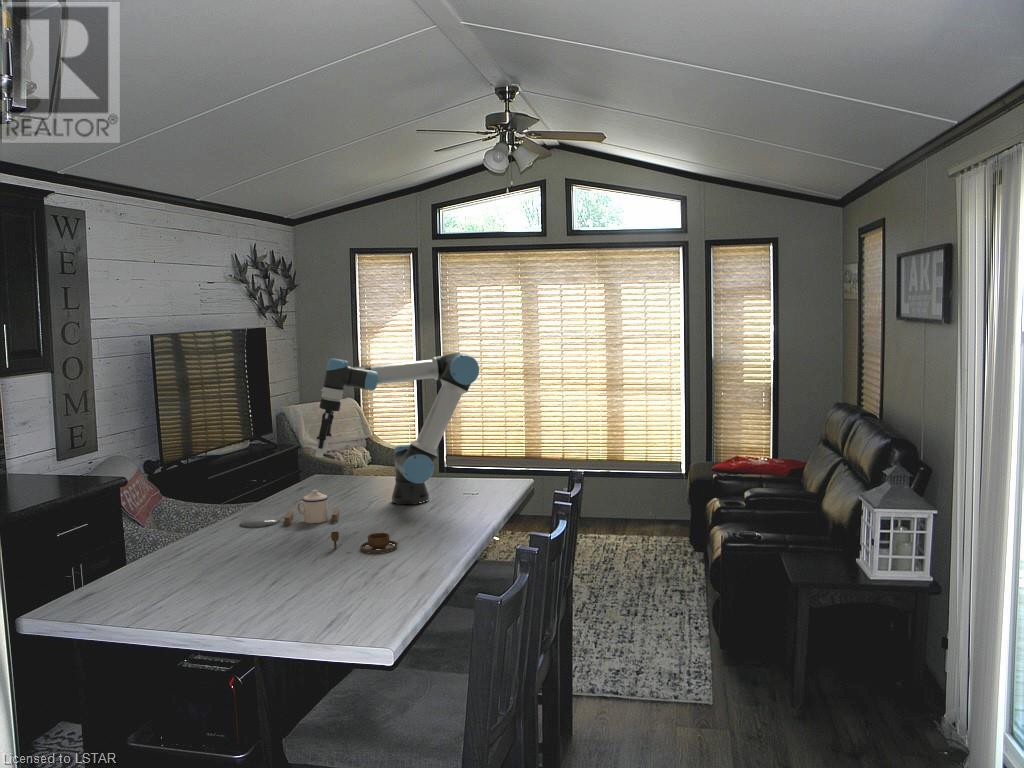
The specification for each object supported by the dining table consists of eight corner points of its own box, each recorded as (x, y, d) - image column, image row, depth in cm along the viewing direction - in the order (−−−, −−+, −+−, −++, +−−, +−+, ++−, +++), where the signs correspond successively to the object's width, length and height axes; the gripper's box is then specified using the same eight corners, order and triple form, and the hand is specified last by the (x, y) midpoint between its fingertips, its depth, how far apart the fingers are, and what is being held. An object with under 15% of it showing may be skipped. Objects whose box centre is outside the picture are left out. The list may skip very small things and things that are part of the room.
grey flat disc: (282, 517, 318) (282, 514, 318) (277, 526, 304) (277, 523, 304) (244, 519, 316) (244, 516, 316) (237, 528, 302) (237, 525, 302)
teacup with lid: (332, 518, 314) (331, 487, 313) (322, 524, 305) (320, 493, 304) (303, 517, 317) (301, 487, 316) (292, 523, 308) (290, 492, 307)
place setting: (374, 559, 261) (373, 541, 261) (328, 551, 272) (327, 533, 272) (410, 546, 276) (409, 528, 275) (365, 538, 287) (364, 521, 286)
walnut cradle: (339, 516, 317) (338, 508, 317) (337, 522, 307) (337, 514, 307) (287, 519, 315) (287, 511, 314) (284, 525, 305) (284, 517, 304)
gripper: (324, 395, 326) (314, 449, 326) (317, 399, 301) (306, 457, 301) (343, 399, 327) (333, 452, 327) (338, 403, 302) (327, 460, 302)
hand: (320, 454), depth 314 cm, fingers open, 13 cm apart
